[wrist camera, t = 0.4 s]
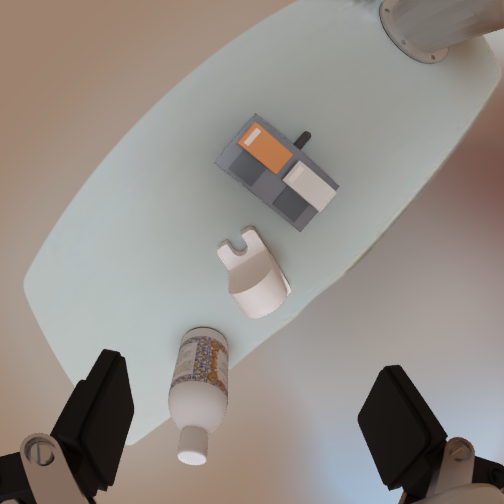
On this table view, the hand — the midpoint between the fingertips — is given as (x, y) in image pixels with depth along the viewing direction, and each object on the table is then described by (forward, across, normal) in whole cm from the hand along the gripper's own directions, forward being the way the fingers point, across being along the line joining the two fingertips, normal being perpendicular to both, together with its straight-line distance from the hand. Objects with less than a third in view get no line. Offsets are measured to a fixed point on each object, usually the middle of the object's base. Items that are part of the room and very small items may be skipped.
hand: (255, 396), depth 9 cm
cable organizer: (+28, -2, +6) cm, 29 cm away
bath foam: (+28, +3, +19) cm, 34 cm away
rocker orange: (+23, -2, -9) cm, 25 cm away
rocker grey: (+23, -7, -6) cm, 25 cm away
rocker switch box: (+28, -4, -8) cm, 29 cm away
